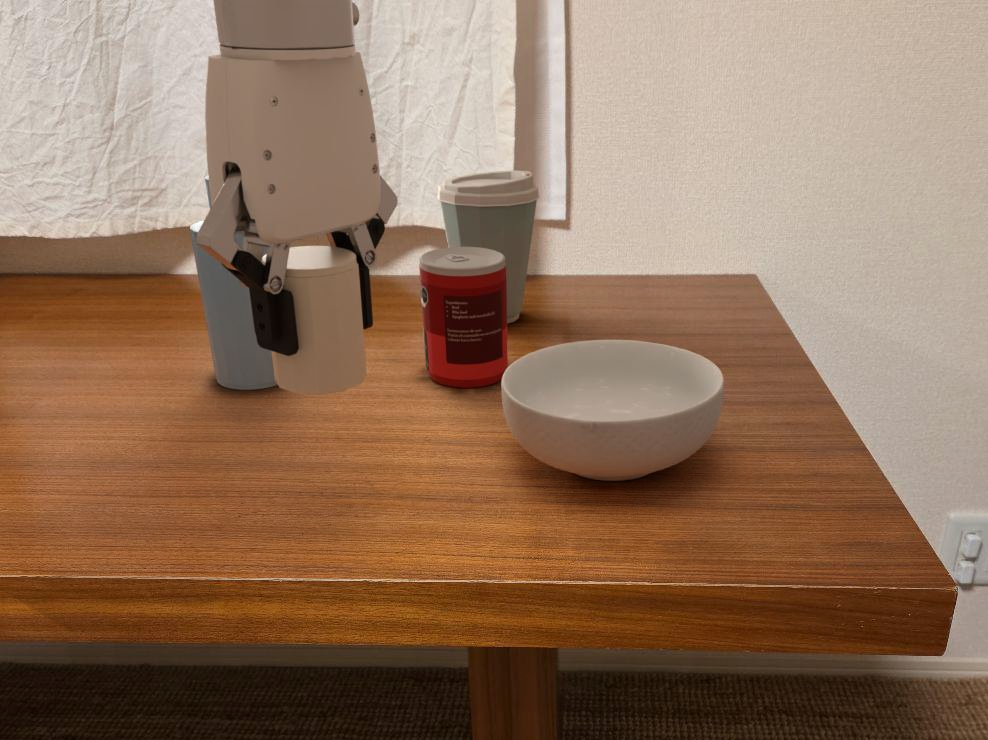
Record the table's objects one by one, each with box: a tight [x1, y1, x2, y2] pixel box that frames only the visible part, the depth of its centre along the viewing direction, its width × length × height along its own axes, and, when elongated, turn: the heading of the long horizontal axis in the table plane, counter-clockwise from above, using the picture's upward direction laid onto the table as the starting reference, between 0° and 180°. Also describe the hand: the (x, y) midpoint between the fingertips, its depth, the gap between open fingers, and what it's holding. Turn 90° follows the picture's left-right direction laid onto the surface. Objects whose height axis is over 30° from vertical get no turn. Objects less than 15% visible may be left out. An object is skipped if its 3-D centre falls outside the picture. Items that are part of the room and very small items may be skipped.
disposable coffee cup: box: [436, 170, 540, 324], centre depth 107 cm, size 11×11×15 cm
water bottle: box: [189, 175, 278, 391], centre depth 91 cm, size 7×7×18 cm
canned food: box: [418, 247, 509, 389], centre depth 93 cm, size 8×8×11 cm
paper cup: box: [262, 245, 368, 396], centre depth 65 cm, size 6×6×8 cm
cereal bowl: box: [500, 339, 725, 482], centre depth 77 cm, size 17×17×7 cm
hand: (316, 334), depth 66 cm, fingers closed on paper cup, 5 cm apart
